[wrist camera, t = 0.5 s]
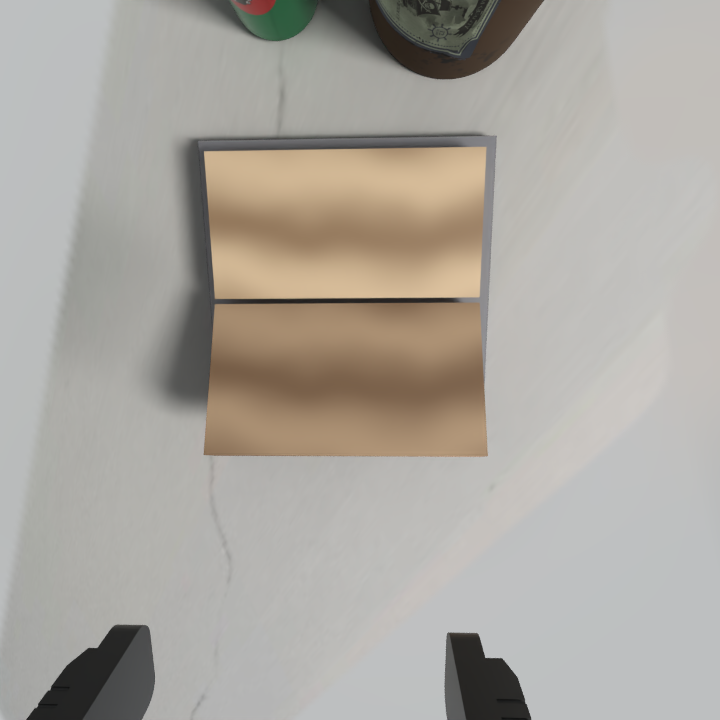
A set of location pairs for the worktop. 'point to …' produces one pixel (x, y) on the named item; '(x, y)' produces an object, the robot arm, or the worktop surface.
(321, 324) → the brown wooden board
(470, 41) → the brown bottle
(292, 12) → the soda can
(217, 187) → the oak plank
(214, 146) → the gray flat board
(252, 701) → the worktop surface
